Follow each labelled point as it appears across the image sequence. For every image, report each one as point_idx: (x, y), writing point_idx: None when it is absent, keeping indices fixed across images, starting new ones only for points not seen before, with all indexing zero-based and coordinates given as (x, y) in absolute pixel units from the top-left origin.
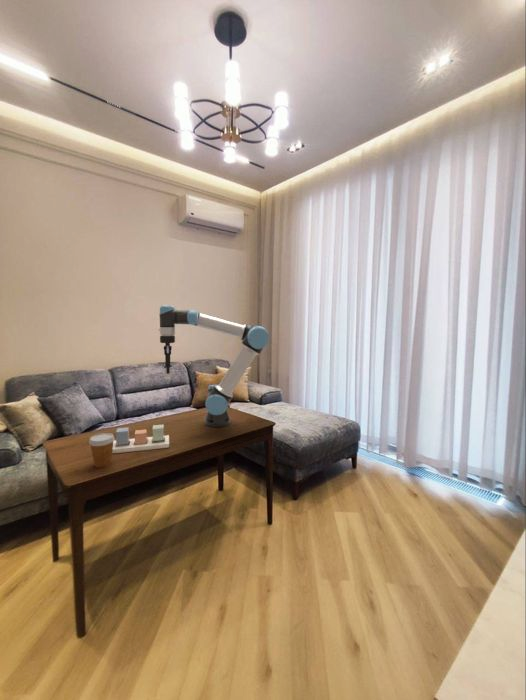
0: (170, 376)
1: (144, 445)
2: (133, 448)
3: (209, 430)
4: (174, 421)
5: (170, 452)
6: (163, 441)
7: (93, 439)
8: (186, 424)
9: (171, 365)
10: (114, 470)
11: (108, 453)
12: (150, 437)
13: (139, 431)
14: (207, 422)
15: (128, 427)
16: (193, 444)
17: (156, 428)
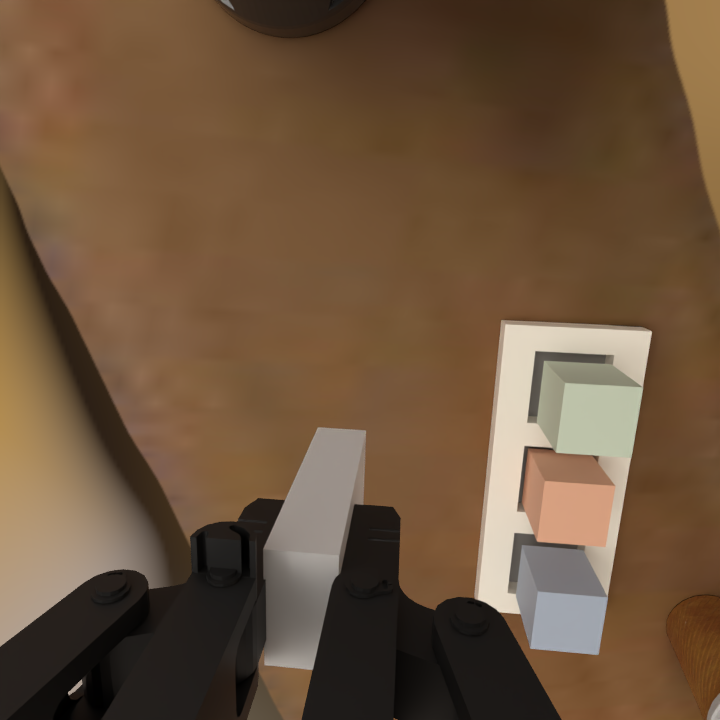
0: (362, 455)
1: (618, 465)
2: (618, 514)
3: (439, 21)
4: (185, 264)
5: (713, 323)
6: (541, 354)
7: None
8: (267, 184)
9: (208, 541)
10: None
11: None
12: (504, 431)
13: (568, 521)
14: (336, 12)
15: (538, 593)
16: (654, 174)
17: (634, 433)
